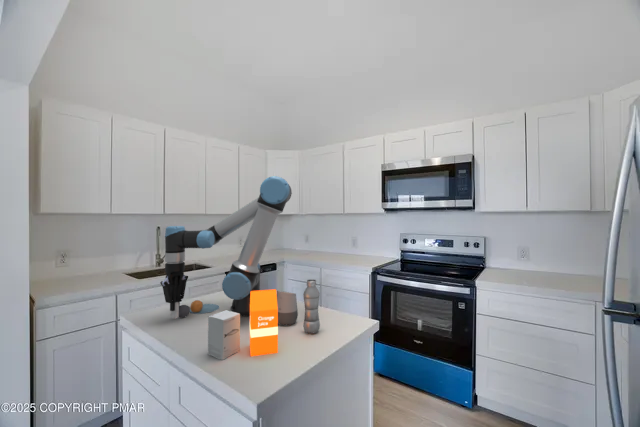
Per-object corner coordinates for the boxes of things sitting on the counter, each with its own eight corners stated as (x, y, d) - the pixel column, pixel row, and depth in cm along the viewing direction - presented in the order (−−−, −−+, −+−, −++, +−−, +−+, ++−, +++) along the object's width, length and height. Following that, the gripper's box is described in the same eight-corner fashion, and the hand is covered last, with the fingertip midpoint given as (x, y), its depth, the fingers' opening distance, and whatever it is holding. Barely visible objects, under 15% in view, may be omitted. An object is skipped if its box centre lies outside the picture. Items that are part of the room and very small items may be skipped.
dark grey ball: (181, 313, 120) (187, 320, 123) (188, 302, 124) (194, 309, 127) (171, 312, 122) (177, 320, 125) (178, 301, 126) (184, 309, 129)
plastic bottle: (322, 329, 111) (322, 279, 111) (316, 336, 104) (316, 282, 105) (307, 327, 113) (307, 278, 113) (300, 334, 106) (300, 281, 107)
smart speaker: (301, 321, 120) (301, 288, 120) (289, 328, 112) (289, 293, 112) (284, 317, 124) (284, 285, 125) (270, 324, 116) (270, 290, 116)
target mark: (224, 304, 142) (224, 304, 142) (210, 314, 128) (210, 313, 128) (198, 303, 144) (198, 303, 144) (181, 313, 130) (181, 312, 130)
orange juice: (278, 352, 92) (278, 292, 92) (250, 356, 89) (250, 294, 90) (274, 342, 99) (275, 286, 100) (249, 345, 97) (249, 288, 97)
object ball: (201, 315, 131) (206, 303, 135) (196, 310, 127) (202, 299, 130) (190, 313, 132) (196, 302, 136) (186, 308, 128) (191, 297, 131)
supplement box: (222, 360, 87) (222, 320, 87) (207, 354, 91) (207, 315, 91) (240, 351, 93) (240, 313, 93) (225, 345, 97) (225, 309, 97)
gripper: (179, 259, 127) (179, 311, 126) (155, 264, 114) (154, 322, 114) (193, 260, 124) (193, 313, 124) (169, 265, 112) (169, 324, 112)
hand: (174, 317), depth 119 cm, fingers closed
